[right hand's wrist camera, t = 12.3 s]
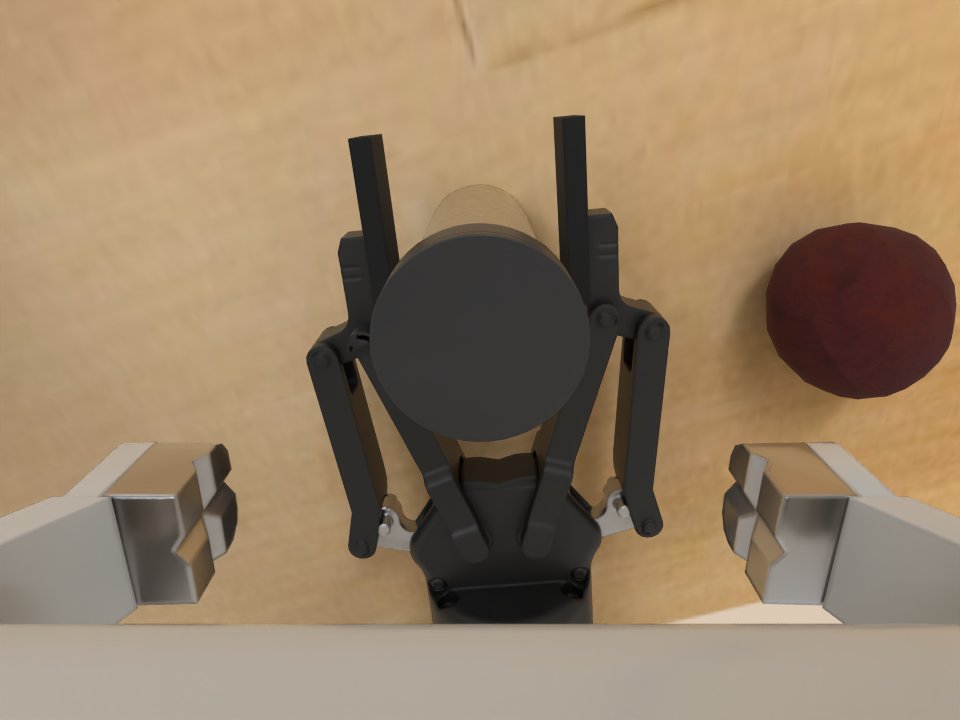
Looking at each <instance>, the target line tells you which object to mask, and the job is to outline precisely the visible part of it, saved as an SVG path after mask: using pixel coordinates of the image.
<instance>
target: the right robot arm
mask: <svg viewBox="0 0 960 720" xmlns="http://www.w3.org/2000/svg"><path fill="white" fill-rule="evenodd" d="M230 471H231V464H230V459H229V454H228V450H227V449H226V448H225V447H224V446H223V444H204V443H157V442H137V443H121V444H120V445H119V446H118V447H117V448H116V449H115V450H113V451H112V452H111V453H110V454H109V455H108V456H107V457H106V458H105V459H104V460H103V461H101V462H100V463H99V464H98V465H97V466H96V467H95V468H94V469H93V470H92V471H90V472H89V473H88V474H87V475H86V476H85V477H84V478H83V479H82V480H81V481H80V482H78V483H77V484H76V485H75V486H74V487H73V488H72V489H71V490H70V491H69V492H67V493H66V494H65V495H64V496H52V497H50V498H47V499H45V500H42V501H40V502H37V503H35V504H32V505H30V506H27V507H25V508H22V509H20V510H17V511H15V512H12V513H10V514H7V515H5V516H2V517H0V720H960V517H958V516H955V515H953V514H950V513H948V512H945V511H943V510H940V509H938V508H935V507H933V506H930V505H928V504H925V503H923V502H920V501H918V500H915V499H913V498H910V497H908V496H896V495H895V494H894V493H893V492H892V491H890V490H889V489H888V488H887V487H886V486H885V485H884V484H883V483H882V482H881V481H879V480H878V479H877V478H876V477H875V476H874V475H873V474H872V473H871V472H870V471H869V470H867V469H866V468H865V467H864V466H863V465H862V464H861V463H860V462H859V461H858V460H857V459H855V458H854V457H853V456H852V455H851V454H850V453H849V452H848V451H847V450H846V449H845V448H843V447H842V446H841V445H840V444H837V443H834V442H816V443H805V442H803V443H761V444H740V445H735V447H734V449H733V452H732V454H731V458H730V464H729V471H730V472H731V474H732V475H733V477H734V479H735V480H736V482H735V483H734V484H733V485H732V486H731V488H730V489H729V490H728V491H727V492H726V493H725V494H724V502H723V510H722V515H723V526H724V532H725V535H726V538H727V541H728V543H729V545H730V547H731V549H732V551H733V553H735V554H736V555H738V556H740V557H741V558H743V559H744V560H746V561H747V563H746V569H745V573H746V575H747V577H748V579H749V580H750V582H751V584H752V585H753V587H754V589H755V591H756V592H757V594H758V596H759V597H760V599H761V601H762V603H763V604H794V605H823V609H825V610H826V611H827V612H829V613H830V614H831V615H833V616H834V617H835V618H837V619H838V620H839V621H841V622H842V623H843V624H117V623H118V622H119V621H121V620H122V619H124V618H125V617H126V616H128V615H129V614H130V613H132V612H133V611H134V610H136V609H137V605H166V604H197V603H198V601H199V599H200V597H201V596H202V594H203V592H204V591H205V589H206V587H207V585H208V584H209V582H210V580H211V579H212V577H213V575H214V573H215V569H214V563H213V561H214V560H216V559H217V558H219V557H220V556H222V555H224V554H225V553H227V551H228V549H229V547H230V545H231V543H232V541H233V539H234V534H235V530H236V526H237V501H236V494H235V493H234V492H233V491H232V490H231V489H230V488H229V486H228V485H227V484H226V483H225V482H224V480H225V479H226V477H227V475H228V474H229V472H230Z"/></svg>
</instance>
